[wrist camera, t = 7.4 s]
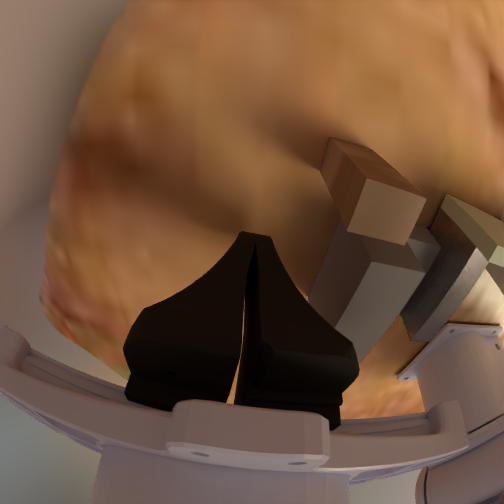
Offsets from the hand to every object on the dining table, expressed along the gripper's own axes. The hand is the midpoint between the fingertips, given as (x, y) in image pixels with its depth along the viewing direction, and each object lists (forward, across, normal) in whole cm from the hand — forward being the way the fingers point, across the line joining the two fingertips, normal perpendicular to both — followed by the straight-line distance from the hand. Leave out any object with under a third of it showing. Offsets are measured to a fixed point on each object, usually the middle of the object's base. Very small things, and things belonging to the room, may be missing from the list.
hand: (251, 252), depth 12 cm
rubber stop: (+2, -6, 0) cm, 7 cm away
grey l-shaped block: (+1, -13, -1) cm, 13 cm away
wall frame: (+2, -8, -4) cm, 10 cm away
